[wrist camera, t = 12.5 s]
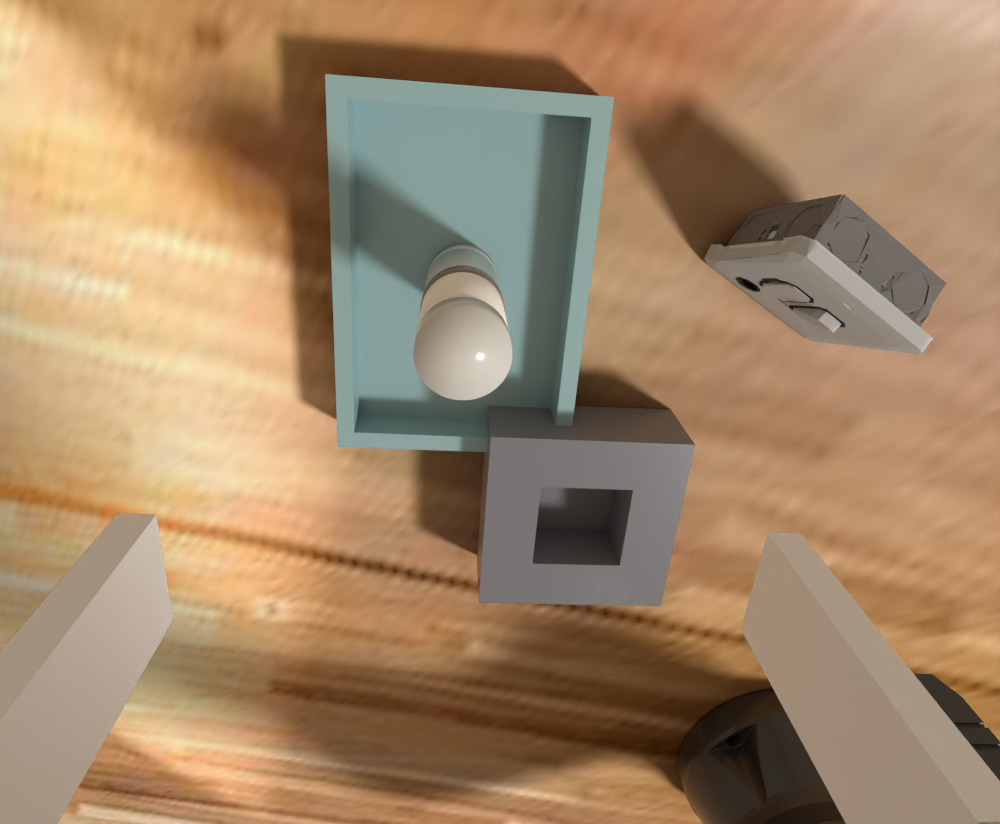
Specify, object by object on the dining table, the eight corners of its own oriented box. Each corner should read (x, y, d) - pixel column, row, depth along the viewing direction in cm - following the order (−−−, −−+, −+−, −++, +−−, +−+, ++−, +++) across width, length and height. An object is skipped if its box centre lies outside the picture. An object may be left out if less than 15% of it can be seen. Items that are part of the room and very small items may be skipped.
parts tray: (561, 432, 44) (568, 455, 41) (345, 424, 43) (337, 446, 40) (602, 97, 36) (614, 96, 33) (335, 76, 35) (324, 74, 32)
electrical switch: (695, 256, 40) (773, 281, 31) (752, 180, 39) (848, 184, 30) (804, 340, 42) (904, 384, 34) (860, 271, 41) (978, 299, 32)
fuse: (495, 314, 40) (509, 403, 28) (426, 310, 39) (411, 399, 28) (500, 244, 38) (517, 308, 26) (427, 240, 38) (412, 302, 26)
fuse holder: (645, 559, 49) (664, 606, 44) (477, 555, 48) (478, 602, 43) (674, 409, 44) (699, 444, 39) (487, 401, 43) (490, 437, 38)
